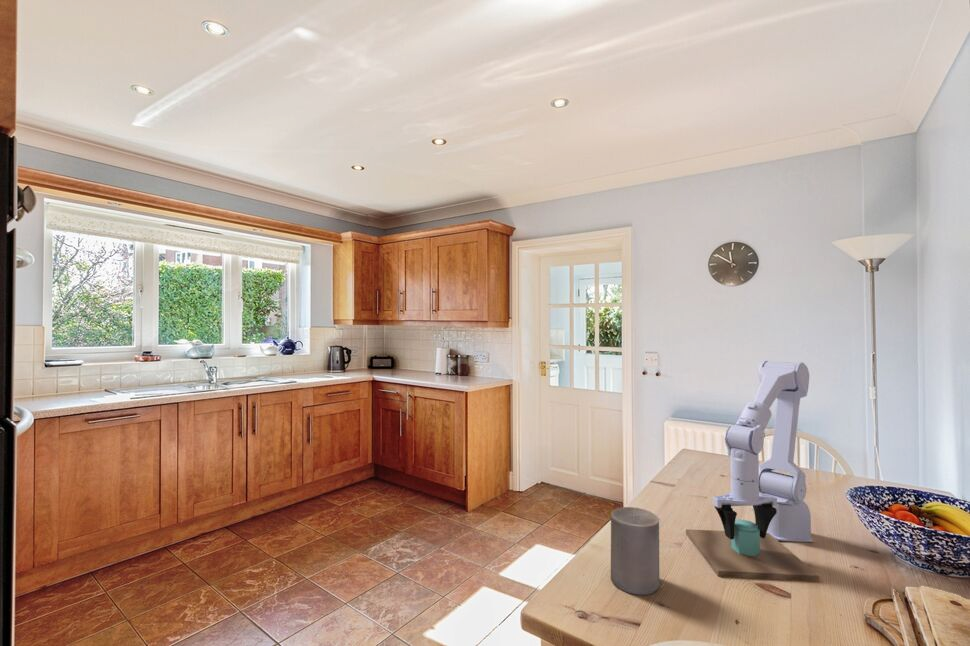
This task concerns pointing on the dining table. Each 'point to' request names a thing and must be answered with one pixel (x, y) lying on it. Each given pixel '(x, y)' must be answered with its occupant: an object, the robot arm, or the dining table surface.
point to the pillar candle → (635, 550)
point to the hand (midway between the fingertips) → (745, 536)
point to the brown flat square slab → (750, 558)
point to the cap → (746, 538)
